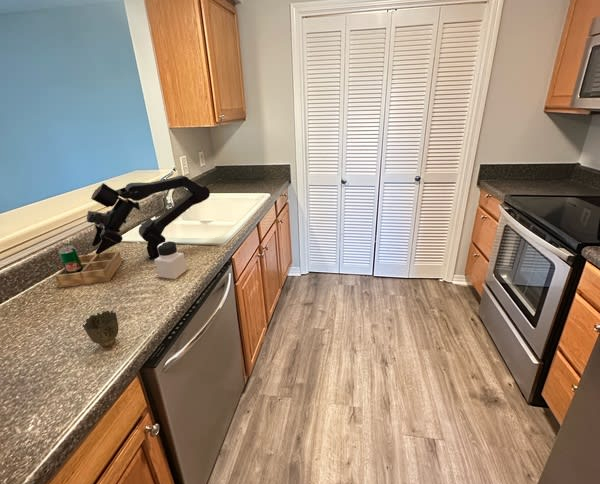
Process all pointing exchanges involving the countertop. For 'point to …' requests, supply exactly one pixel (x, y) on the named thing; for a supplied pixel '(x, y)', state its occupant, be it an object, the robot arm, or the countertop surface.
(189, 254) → the countertop surface
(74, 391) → the countertop surface
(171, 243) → the medicine bottle
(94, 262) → the grid
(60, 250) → the soda can
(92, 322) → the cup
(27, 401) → the countertop surface
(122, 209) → the robot arm
